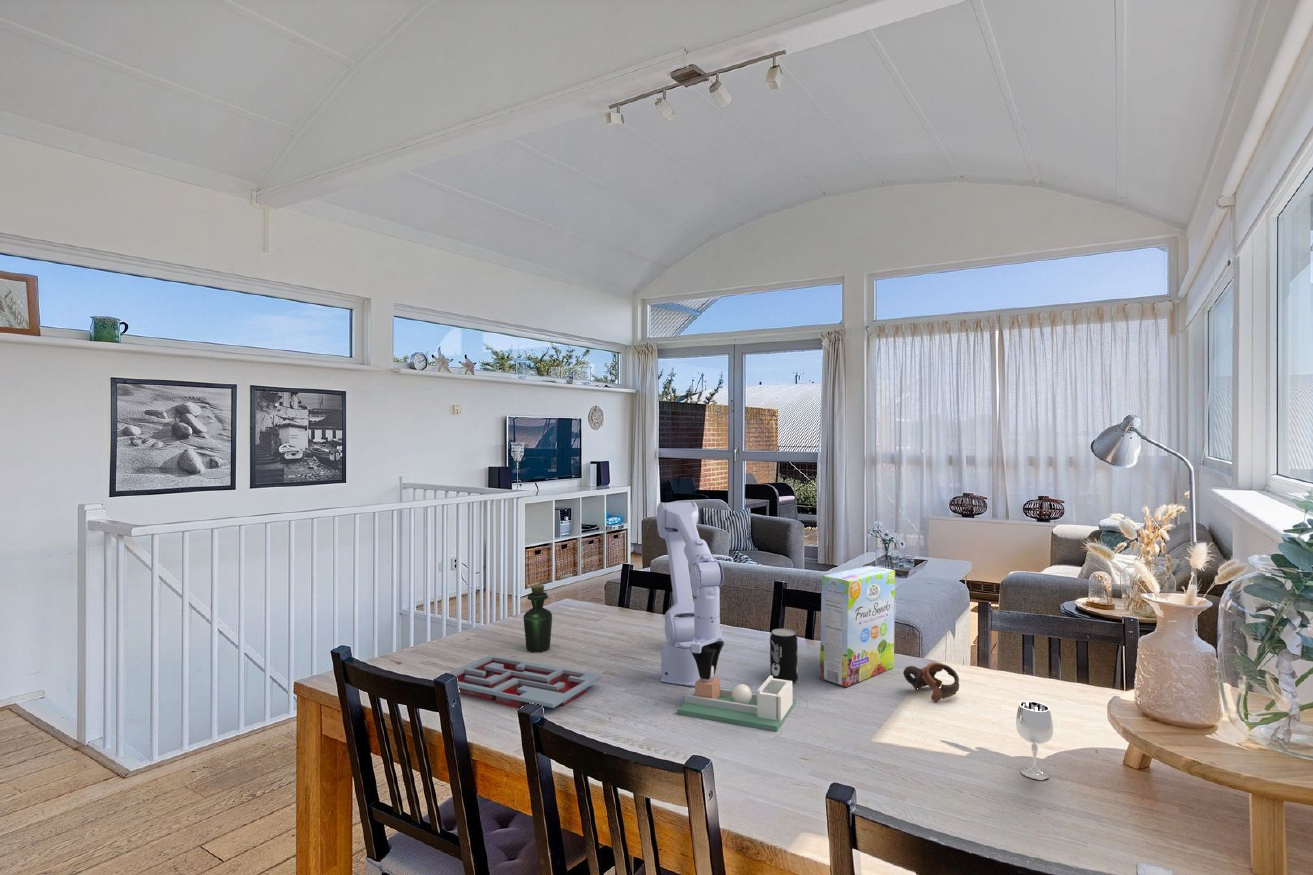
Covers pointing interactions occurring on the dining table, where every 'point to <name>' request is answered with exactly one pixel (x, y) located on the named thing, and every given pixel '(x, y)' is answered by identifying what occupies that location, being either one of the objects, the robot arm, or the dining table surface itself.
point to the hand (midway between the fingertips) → (707, 676)
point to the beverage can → (784, 655)
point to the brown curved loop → (932, 679)
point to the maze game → (522, 682)
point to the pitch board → (729, 710)
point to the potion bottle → (537, 621)
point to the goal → (774, 699)
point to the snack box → (857, 624)
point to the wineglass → (1034, 727)
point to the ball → (742, 694)
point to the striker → (708, 686)
